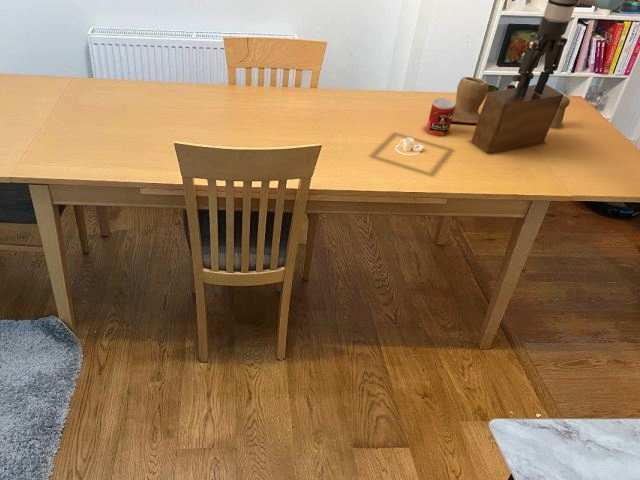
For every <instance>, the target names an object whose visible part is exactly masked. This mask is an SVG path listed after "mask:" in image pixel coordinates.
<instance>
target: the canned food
mask: <svg viewBox="0 0 640 480" xmlns="http://www.w3.org/2000/svg"><path fill="white" fill-rule="evenodd" d="M455 105H456V101H454V100H452V99H449V98H445V97H439V98H438V97H437V98H435V99H433V101H432V104H431V108H430V112H429V116H428V120H427V125H426V132H427V133H428V134H429V135H432V136H435V137H444V136H447V135H448V134H449V131H450V128H451V124H452V122H451V121H452V117H453V113H454V110H455Z"/></svg>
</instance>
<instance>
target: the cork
mask: <svg viewBox="0 0 640 480" xmlns="http://www.w3.org/2000/svg"><path fill="white" fill-rule="evenodd" d="M570 103H571V100H570V98H569V97H567V96H565V95H564V96H563V98H562V100H561V103H560V105H559V107H558V110H557V112H556V114H555V117H554V119H553V121H552V124H551V126H550V128H549V129H561V128H562V125H563V121H564V117H565V113H566V109H567V107H569V105H570Z"/></svg>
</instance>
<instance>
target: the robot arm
mask: <svg viewBox="0 0 640 480" xmlns="http://www.w3.org/2000/svg"><path fill="white" fill-rule="evenodd" d="M577 2H578V3H581V4H586V5H588V6H592V7H595V8H598V9H600V10H606V11H615V10H617V9H618V8H619V7H620V6H622V4H623V3H624V2H630V3H640V0H547V4H546V6H545V10H544V12H543V17H542V18H541V21H540V23H539V25H538V26H539V27H538V33H539V34H538V36H537V37H536V39H535V40H529V41H528V42H527V48H526V51H525V53H524V55H523V58H522V61H521V62H520V65H519V68H518V71H517V74H518V75H520V74H521V75H522V78H521V81H520V84H519V85H520V87H519V90H518V93H517V95H519V96H520V97H522V98H524V97H525V95H526V92H527V89H528V86H530V83H531V80H532V79H531V78H532V77H530V75H531V73H533V72H534V70H535V69H536V67H537V65H538V63H539V61H540V60H541V58H542V57H544V62H543V63H544V64H543V70H542V71H540V73H539V77H538V79H537V81H536V84H535V85H536V88H535V90H534V92H536V93H538V94H540V95H542V93H543V90H544V87H545V85H547V83H548V81H549V78H550V75H554V74H555V72H556V71H558V69H559V65H560V62H561V59H562V56H563V52H564V49H565V46H566V45H567V44H568V41H569V40H568V38H566V37H564V35H565V34H566V32H567V29H568V26H569V23H570V22H569V21H570V20H571V19H572V15H573V13H574V10H575V8H576V5H577Z"/></svg>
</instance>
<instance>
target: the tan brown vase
mask: <svg viewBox="0 0 640 480" xmlns="http://www.w3.org/2000/svg"><path fill="white" fill-rule="evenodd" d="M457 84H458V85H457V87H456V99H455V104H456V105H455V110H454V113H453V117H452V121H451V123H452V122H453V123H461V124H462V123H463V124H464V123H465V124H477V123H478V120H479V117H480V114H481V113H479V109H480V107H481V106H482V105H483V103H484V102H485V99H486V96H487V93H488V92H489V86H490V85H489V82H488V81H486V80H484V79H481V78H478V77H472V76H464V77H461V79H460V81H459V82H458V83H457Z"/></svg>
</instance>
